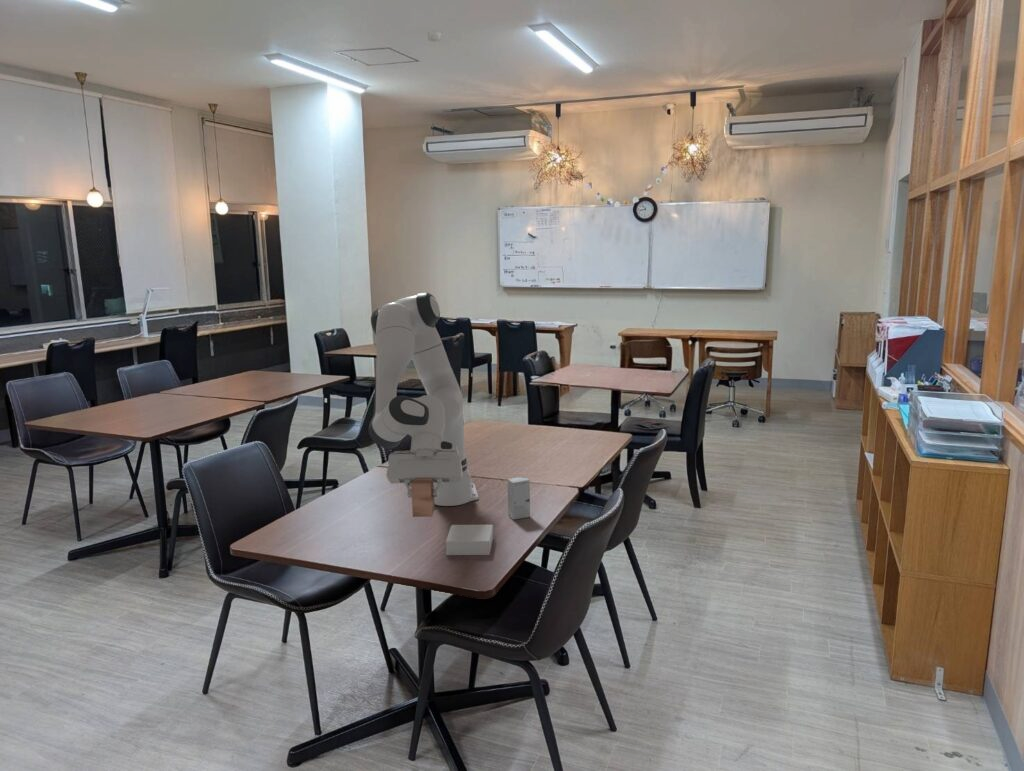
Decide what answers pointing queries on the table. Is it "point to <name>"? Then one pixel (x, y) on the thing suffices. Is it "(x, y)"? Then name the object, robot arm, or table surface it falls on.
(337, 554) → the table surface
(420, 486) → the terracotta block
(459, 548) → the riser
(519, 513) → the skincare box
